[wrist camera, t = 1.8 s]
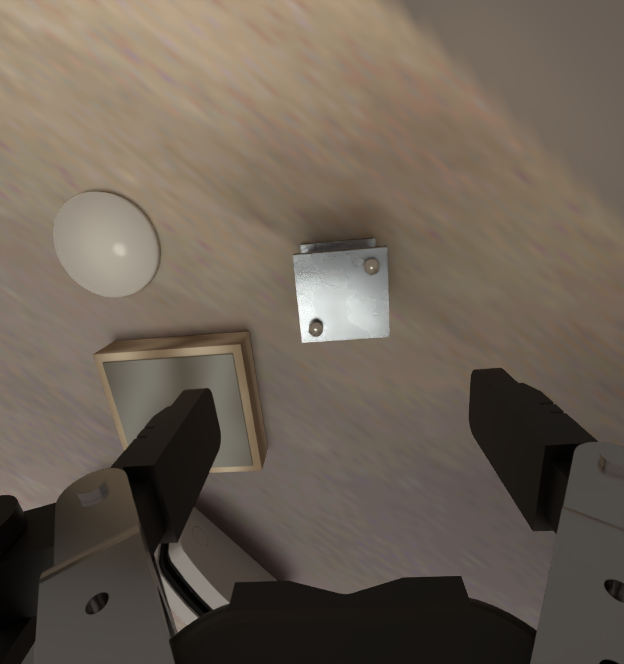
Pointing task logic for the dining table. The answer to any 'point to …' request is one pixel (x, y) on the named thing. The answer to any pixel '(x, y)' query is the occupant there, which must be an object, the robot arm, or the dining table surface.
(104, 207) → the white smooth dome part
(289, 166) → the dining table surface
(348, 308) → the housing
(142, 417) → the wooden framed mirror
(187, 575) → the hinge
